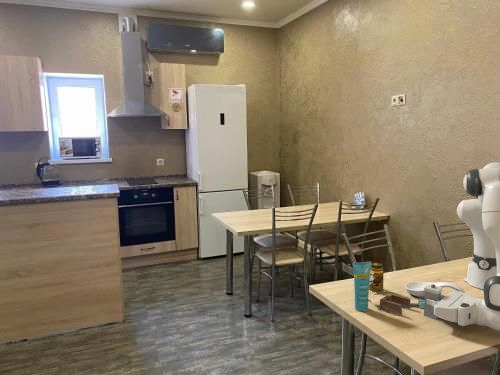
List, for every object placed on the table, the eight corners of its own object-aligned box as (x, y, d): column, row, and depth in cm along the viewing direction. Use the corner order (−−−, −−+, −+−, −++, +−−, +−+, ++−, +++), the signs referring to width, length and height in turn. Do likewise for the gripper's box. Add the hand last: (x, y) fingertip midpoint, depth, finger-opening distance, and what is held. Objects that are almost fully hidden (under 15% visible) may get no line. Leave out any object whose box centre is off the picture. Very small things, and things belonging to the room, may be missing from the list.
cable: (402, 302, 154) (402, 297, 154) (464, 311, 144) (465, 306, 144) (401, 306, 151) (401, 301, 150) (465, 316, 141) (465, 311, 141)
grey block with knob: (428, 311, 145) (429, 281, 144) (441, 315, 142) (442, 284, 141) (423, 315, 142) (424, 285, 141) (436, 319, 139) (437, 288, 137)
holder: (390, 302, 154) (390, 293, 154) (410, 308, 148) (410, 298, 148) (379, 309, 148) (380, 299, 148) (400, 315, 142) (400, 305, 142)
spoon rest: (401, 296, 161) (402, 280, 160) (407, 287, 170) (408, 272, 169) (465, 309, 147) (466, 291, 146) (467, 298, 157) (468, 282, 156)
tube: (355, 312, 146) (356, 264, 144) (349, 307, 151) (350, 260, 148) (373, 310, 148) (373, 262, 145) (366, 305, 152) (367, 259, 150)
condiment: (375, 294, 163) (375, 267, 162) (362, 287, 171) (362, 262, 169) (388, 291, 166) (388, 265, 164) (374, 284, 174) (375, 259, 172)
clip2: (423, 304, 151) (423, 299, 151) (425, 308, 148) (425, 303, 148) (417, 304, 152) (417, 299, 152) (419, 308, 148) (419, 303, 148)
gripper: (480, 292, 139) (441, 282, 149) (462, 310, 125) (419, 298, 135) (479, 308, 140) (440, 298, 149) (461, 328, 125) (419, 315, 135)
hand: (430, 298), depth 142 cm, fingers open, 5 cm apart
